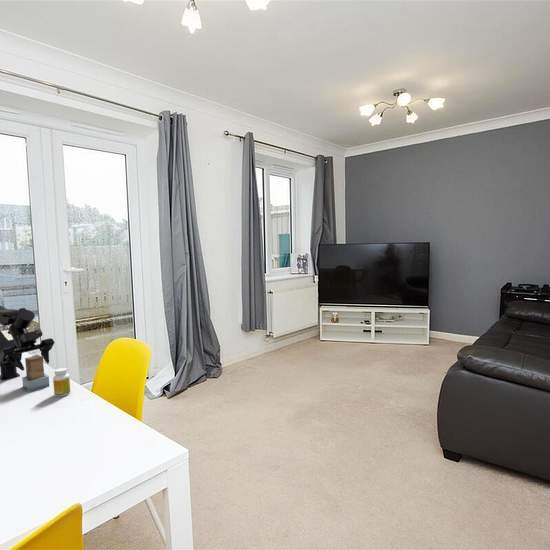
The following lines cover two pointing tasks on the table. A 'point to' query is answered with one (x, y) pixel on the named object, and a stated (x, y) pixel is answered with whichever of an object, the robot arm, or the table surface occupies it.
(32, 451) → the table surface
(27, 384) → the bin
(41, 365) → the walnut block
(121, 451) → the table surface
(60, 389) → the supplement bottle
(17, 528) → the table surface
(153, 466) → the table surface
